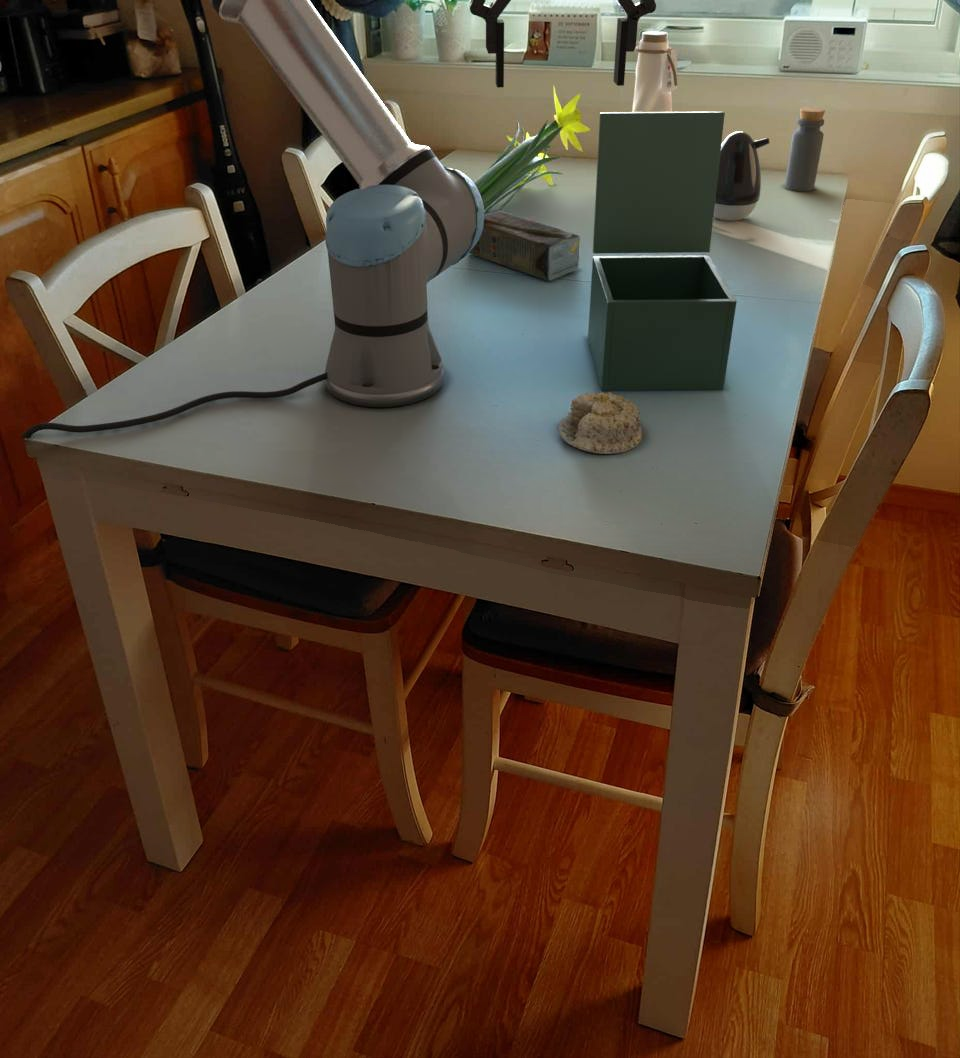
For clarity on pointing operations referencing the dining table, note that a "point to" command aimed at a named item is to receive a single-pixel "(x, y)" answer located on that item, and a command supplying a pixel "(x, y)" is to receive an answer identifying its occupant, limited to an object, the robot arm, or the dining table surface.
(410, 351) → the robot arm
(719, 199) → the pump dispenser
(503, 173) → the daffodil flowers
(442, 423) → the dining table surface
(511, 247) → the beverage carton
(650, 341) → the bin
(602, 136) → the bin lid
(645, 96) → the water bottle
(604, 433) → the cake
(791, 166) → the bottle
